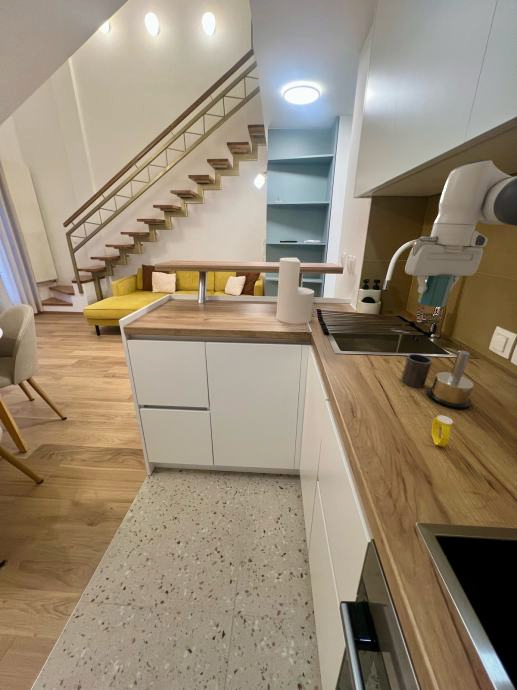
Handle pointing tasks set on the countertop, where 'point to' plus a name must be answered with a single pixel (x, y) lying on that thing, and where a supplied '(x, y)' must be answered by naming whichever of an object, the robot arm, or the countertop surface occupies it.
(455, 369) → the towel holder
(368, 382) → the countertop surface
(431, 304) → the teal cup
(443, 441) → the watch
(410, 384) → the charcoal cup
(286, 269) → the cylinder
